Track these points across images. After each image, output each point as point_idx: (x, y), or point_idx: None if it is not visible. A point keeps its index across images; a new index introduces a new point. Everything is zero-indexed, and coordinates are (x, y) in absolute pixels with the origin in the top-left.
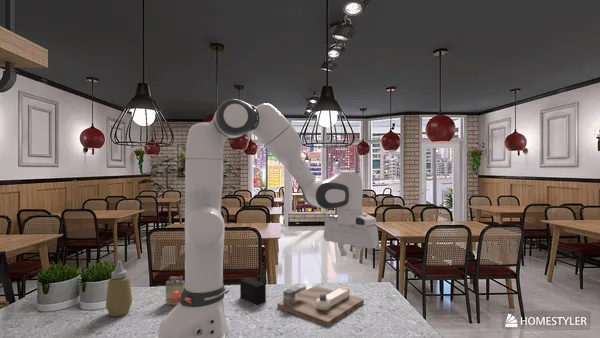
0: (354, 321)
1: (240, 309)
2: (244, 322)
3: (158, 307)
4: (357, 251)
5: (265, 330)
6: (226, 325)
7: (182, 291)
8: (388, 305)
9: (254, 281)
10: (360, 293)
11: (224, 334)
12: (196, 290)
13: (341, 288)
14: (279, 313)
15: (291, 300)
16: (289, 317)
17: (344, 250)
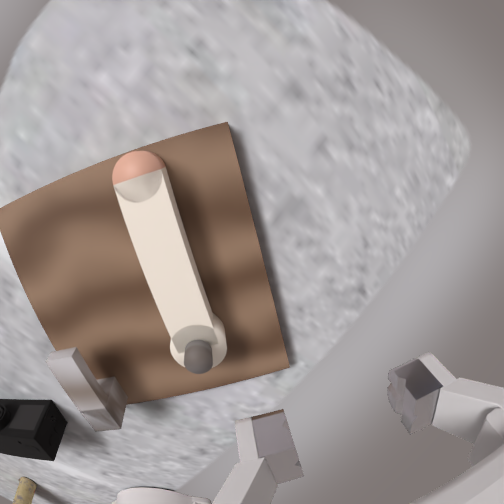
0: (317, 273)
1: (79, 450)
2: (148, 468)
3: (41, 498)
4: (471, 428)
5: (206, 458)
6: (174, 501)
7: (29, 500)
8: (307, 59)
9: (11, 443)
10: (136, 57)
11: (195, 502)
12: None
13: (124, 188)
14: (135, 412)
15: (121, 402)
16: (171, 406)
17: (267, 461)
